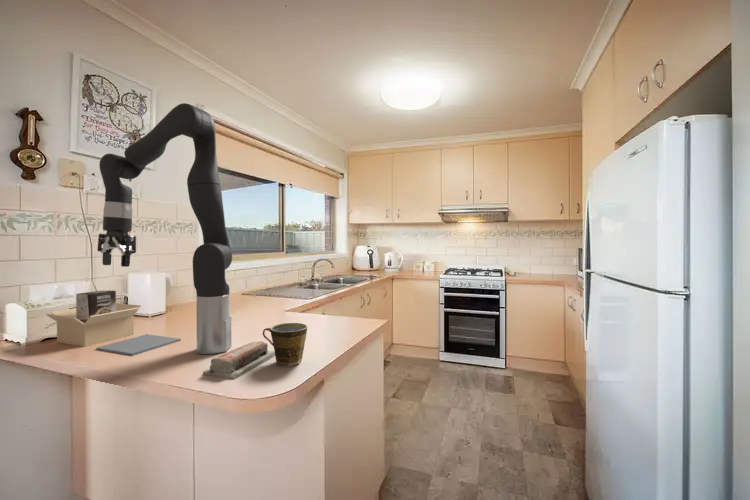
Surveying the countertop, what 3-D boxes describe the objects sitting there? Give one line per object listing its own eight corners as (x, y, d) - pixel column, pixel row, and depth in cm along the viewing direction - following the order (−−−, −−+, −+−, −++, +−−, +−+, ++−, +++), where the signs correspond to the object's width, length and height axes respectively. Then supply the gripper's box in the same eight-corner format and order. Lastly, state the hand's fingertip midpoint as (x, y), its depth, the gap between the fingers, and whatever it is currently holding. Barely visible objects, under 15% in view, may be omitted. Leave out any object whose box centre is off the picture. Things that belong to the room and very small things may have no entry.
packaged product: (235, 361, 81) (202, 357, 84) (235, 381, 81) (202, 376, 84) (276, 340, 98) (248, 337, 101) (276, 356, 98) (248, 353, 101)
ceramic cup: (312, 357, 96) (312, 323, 96) (298, 370, 87) (298, 332, 86) (271, 354, 99) (271, 321, 99) (253, 366, 89) (253, 330, 89)
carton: (147, 332, 121) (146, 305, 121) (80, 350, 102) (80, 318, 101) (110, 327, 128) (109, 302, 128) (40, 343, 108) (40, 313, 108)
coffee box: (90, 342, 110) (90, 294, 109) (75, 341, 111) (74, 293, 111) (117, 334, 119) (116, 290, 118) (102, 333, 120) (102, 289, 120)
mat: (180, 340, 112) (180, 338, 112) (132, 355, 97) (132, 353, 97) (146, 335, 118) (146, 334, 118) (96, 349, 102) (96, 347, 102)
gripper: (145, 218, 110) (142, 266, 110) (114, 217, 115) (112, 264, 115) (121, 215, 103) (119, 267, 103) (90, 215, 107) (88, 264, 107)
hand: (115, 265), depth 109 cm, fingers open, 8 cm apart
